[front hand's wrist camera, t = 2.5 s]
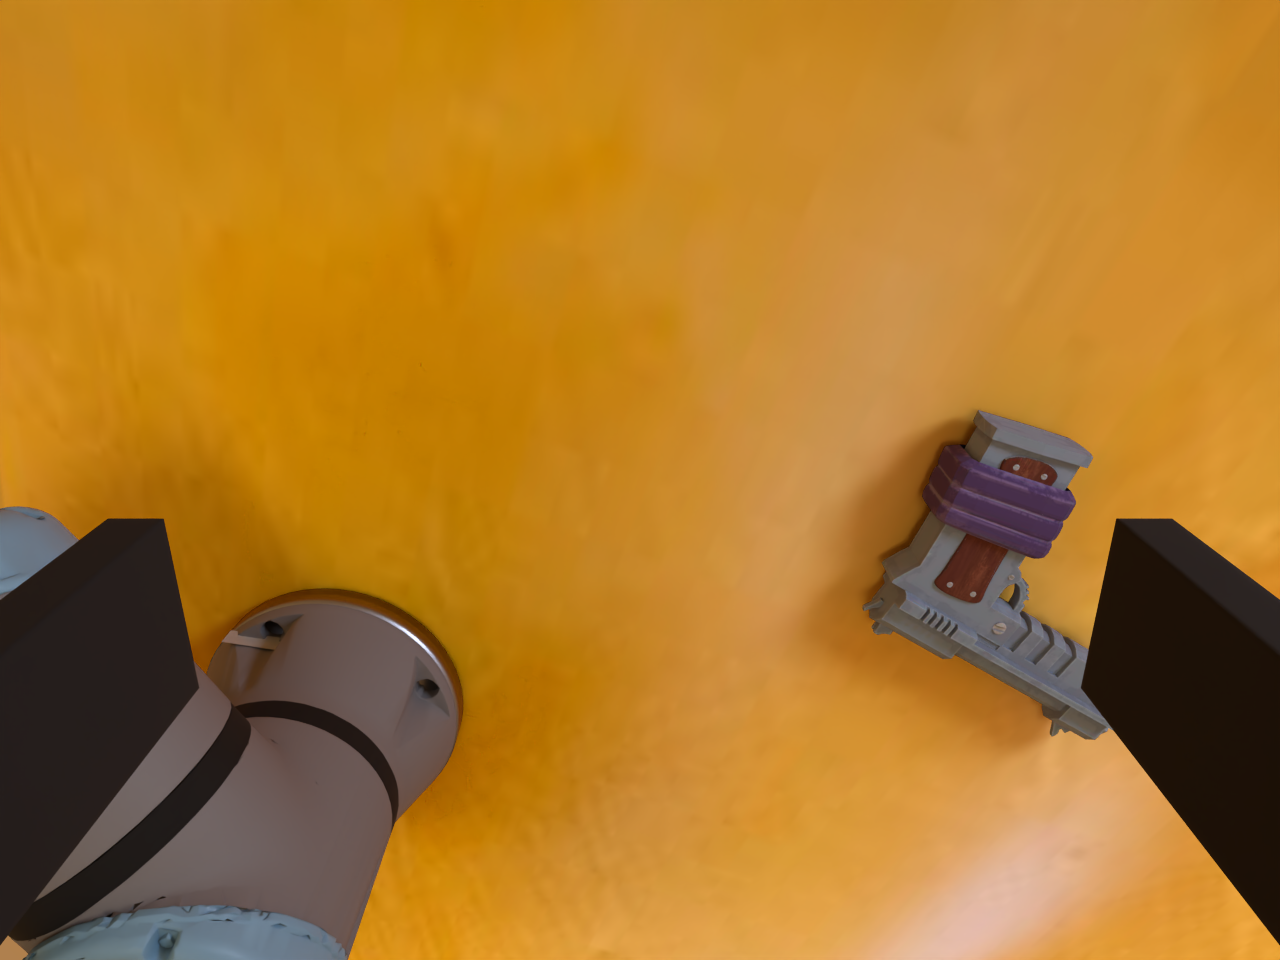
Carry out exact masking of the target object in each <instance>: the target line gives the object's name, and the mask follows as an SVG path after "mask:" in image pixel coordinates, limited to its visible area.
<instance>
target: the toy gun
mask: <svg viewBox="0 0 1280 960" xmlns="http://www.w3.org/2000/svg"><path fill="white" fill-rule="evenodd" d="M973 421H974V423H975V425H976V426H977V427H976V429H975V431H974V433H973V434H972V436H971V438H970V440H969V441H968V443H967V445H949V446H946V447H944V449H943V451H942V453H941V455H940V458H939V460H938V464H939V465H938V466H936V467H935V468H934V470H933V472H932V474H931V477H930V479H929V482H930V483H929V484H928V485H927V486H926V487H925V489H924V491H923V495H922V497H923V499H924V501H925V502H926V504H927V505H928V507H929V508H930V510H931V511H930V513H929V515H928V516H927V518H926V520H925V521H924V523H923V525H922V526H921V528H920V530H919V531H918V533H917V534H916V536H915V538H914V539H913V541H912V543H911V544H910V546H909V547H907V548H905V549H903V550H901V551H899V552H898V553H896V554H894V555H892V556H890V557H889V558H887V559H885V560H884V561H883V562H882V564H883V566H884V568H885V570H886V573H885V574H884V575H883V578H884V582H885V583H884V584H883V586H882V587H881V588H880V589H879V591H878V592H877V593H876V594H875V596H874V597H873V598H872V601H871V602H869V603H866V604H864V605H863V610H864V611H865V610H868V609H869V612H870V618H871V619H873V620H875V621H876V622H875V623H874V624H873V625H872V629H874V630H873V632H874V633H876V634H877V635H879V634H891V633H892V632H893V631H894V632H896V633H898V634H900V635H901V636H903V637H905V638H907V639H909V640H910V641H912V642H914V643H916V644H917V645H919V646H921V647H923V648H924V649H926V650H928V651H930V652H932V653H933V654H935V655H937V656H939V657H940V658H942V659H951V658H952V657H953V656H954V655H956V656H958V657H960V658H962V659H964V660H965V661H967V662H969V663H971V664H972V665H974V666H976V667H978V668H979V669H981V670H983V671H985V672H986V673H988V674H990V675H992V676H994V677H995V678H997V679H999V680H1001V681H1002V682H1004V683H1006V684H1008V685H1009V686H1011V687H1013V688H1015V689H1017V690H1018V691H1020V692H1022V693H1024V694H1025V695H1027V696H1029V697H1031V698H1032V699H1034V700H1036V701H1038V702H1039V703H1041V704H1042V711H1043V716H1045V717H1047V718H1049V719H1050V720H1052V724H1051V729H1050V735H1051V736H1054V735H1056V734H1057V733H1058V732H1059V729H1062V730H1063V731H1064V733H1065V732H1068V731H1072V732H1074V733H1075V734H1077V735H1079V736H1081V737H1082V738H1084V739H1092V740H1095V739H1096V738H1097V737H1098V736H1099V735H1100V734H1102V733H1104V732H1107V730H1108V728H1110V729H1112V728H1111V726H1110V725H1109V724H1108V723H1107V721H1106V720H1105V719H1104V717H1103V716H1102V715H1101V713H1100V712H1099V711H1098V710H1097V708H1096V707H1095V706H1094V704H1093V703H1092V702H1091V701H1090V699H1089V698H1088V697H1087V695H1086V694H1085V693H1084V692H1083V690H1082V689H1081V684H1082V679H1083V674H1084V670H1085V665H1086V660H1087V656H1088V651H1089V650H1088V649H1086V648H1085V647H1083V646H1081V645H1080V644H1078V643H1076V642H1075V641H1073V640H1071V639H1070V638H1068V637H1064V636H1062V635H1061V634H1060V633H1059V632H1057V631H1056V630H1054V629H1053V628H1051V627H1049V626H1047V625H1045V624H1041V623H1040V622H1039V621H1038V620H1037V619H1035V618H1034V617H1032V616H1031V615H1029V614H1027V613H1025V612H1023V611H1021V610H1022V609H1023V607H1024V604H1023V602H1024V601H1025V600H1029V597H1028V596H1027V595H1026V594H1029V591H1028V590H1027V589H1026V588H1029V586H1028V584H1027V583H1026V582H1025V581H1024V579H1023V578H1021V572H1020V570H1019V568H1018V567H1019V566H1020V564H1021V563H1022V561H1023V560H1024V558H1025V557H1026V556H1027V557H1031V558H1034V559H1035V558H1044V557H1045V556H1046V555H1047V554H1048V552H1049V550H1050V548H1051V545H1052V544H1051V542H1052V541H1053V540H1055V539H1056V538H1057V536H1058V534H1059V533H1060V531H1061V529H1062V527H1063V521H1064V520H1066V519H1067V518H1068V516H1069V515H1070V513H1071V512H1072V510H1073V508H1074V506H1075V504H1076V501H1075V498H1074V496H1073V494H1072V493H1071V491H1070V490H1069V489H1068V488H1067V486H1068V485H1069V483H1070V481H1071V480H1072V478H1073V477H1074V475H1075V473H1076V472H1077V470H1078V469H1079V467H1080V466H1082V467H1085V468H1088V466H1089V464H1090V462H1091V461H1092V459H1093V457H1092V455H1091V454H1090V453H1089V452H1088V451H1087V450H1086V449H1085V448H1083V447H1082V446H1081V445H1079V444H1078V443H1076V442H1074V441H1073V440H1071V439H1069V438H1067V437H1064V436H1060V435H1057V434H1054V433H1051V432H1048V431H1045V430H1042V429H1039V428H1036V427H1032V426H1029V425H1026V424H1023V423H1020V422H1016V421H1013V420H1009V419H1006V418H1003V417H999V416H996V415H992V414H989V413H986V412H982V411H979V410H978V412H977V414H976V416H975V418H974V420H973ZM1012 584H1015V588H1014V593H1013V595H1012V597H1011V599H1010V600H1009V602H1007V601H1005V600H1003V599H1002V598H1000V597H999V595H1000V594H1001V593H1002V591H1003V590H1004V589H1005V588H1006V587H1008V586H1009V585H1012ZM1112 730H1113V729H1112ZM1113 731H1114V730H1113Z"/></svg>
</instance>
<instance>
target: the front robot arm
mask: <svg viewBox="0 0 1280 960" xmlns="http://www.w3.org/2000/svg"><path fill="white" fill-rule="evenodd" d="M1081 689H1082V690H1083V692H1084V693H1085V694H1086V695H1087V697H1088V698H1089V699H1090V701H1091V702H1092V703H1093V704H1094V706H1095V707H1096V708H1097V710H1098V711H1099V712H1100V713H1101V715H1102V716H1103V717H1104V719H1105V720H1106V721H1107V723H1108V724H1109V725H1110V726H1111V728H1112V729H1113V730H1114V732H1115V733H1116V734H1117V735H1118V737H1119V738H1120V739H1121V741H1122V742H1123V743H1124V745H1125V746H1126V747H1127V748H1128V750H1129V751H1130V752H1131V754H1132V755H1133V756H1134V757H1135V759H1136V760H1137V761H1138V763H1139V764H1140V765H1141V766H1142V768H1143V769H1144V770H1145V772H1146V773H1147V774H1148V776H1149V777H1150V778H1151V779H1152V781H1153V782H1154V783H1155V785H1156V786H1157V787H1158V788H1159V790H1160V791H1161V792H1162V794H1163V795H1164V796H1165V797H1166V799H1167V800H1168V801H1169V803H1170V804H1171V805H1172V807H1173V808H1174V809H1175V810H1176V812H1177V813H1178V814H1179V816H1180V817H1181V818H1182V819H1183V821H1184V822H1185V823H1186V825H1187V826H1188V827H1189V829H1190V830H1191V831H1192V832H1193V834H1194V835H1195V836H1196V838H1197V839H1198V840H1199V841H1200V843H1201V844H1202V845H1203V847H1204V848H1205V849H1206V850H1207V852H1208V853H1209V854H1210V856H1211V857H1212V858H1213V860H1214V861H1215V862H1216V863H1217V865H1218V866H1219V867H1220V869H1221V870H1222V871H1223V872H1224V874H1225V875H1226V876H1227V878H1228V879H1229V880H1230V882H1231V883H1232V884H1233V885H1234V887H1235V888H1236V889H1237V891H1238V892H1239V893H1240V894H1241V896H1242V897H1243V898H1244V900H1245V901H1246V902H1247V903H1248V905H1249V906H1250V907H1251V909H1252V910H1253V911H1254V913H1255V914H1256V915H1257V916H1258V918H1259V919H1260V920H1261V922H1262V923H1263V924H1264V925H1265V927H1266V928H1267V929H1268V931H1269V932H1270V933H1271V935H1272V936H1273V937H1274V938H1275V940H1276V941H1277V942H1278V944H1279V945H1280V600H1279V599H1278V598H1277V597H1275V596H1274V595H1273V594H1271V593H1270V592H1269V591H1267V590H1266V589H1265V588H1263V587H1262V586H1261V585H1259V584H1258V583H1257V582H1255V581H1254V580H1253V579H1251V578H1250V577H1249V576H1247V575H1246V574H1245V573H1243V572H1242V571H1241V570H1240V569H1238V568H1237V567H1236V566H1234V565H1233V564H1232V563H1230V562H1229V561H1228V560H1226V559H1225V558H1224V557H1222V556H1221V555H1220V554H1218V553H1217V552H1216V551H1214V550H1213V549H1212V548H1210V547H1209V546H1208V545H1206V544H1205V543H1204V542H1202V541H1201V540H1200V539H1198V538H1197V537H1196V536H1194V535H1193V534H1192V533H1190V532H1189V531H1188V530H1186V529H1185V528H1184V527H1182V526H1181V525H1180V524H1178V523H1177V522H1176V521H1174V520H1173V519H1116V523H1115V528H1114V532H1113V537H1112V542H1111V547H1110V551H1109V556H1108V561H1107V566H1106V570H1105V575H1104V580H1103V585H1102V589H1101V594H1100V599H1099V603H1098V608H1097V613H1096V618H1095V622H1094V627H1093V632H1092V637H1091V641H1090V646H1089V651H1088V656H1087V660H1086V665H1085V670H1084V674H1083V679H1082V684H1081ZM462 714H463V696H462V689H461V684H460V680H459V677H458V674H457V672H456V669H455V667H454V665H453V663H452V661H451V659H450V657H449V656H448V654H447V652H446V651H445V649H444V648H443V647H442V645H441V644H440V643H439V641H438V640H437V639H436V638H435V637H434V636H433V635H432V633H431V632H430V631H428V630H427V629H426V628H425V627H424V626H423V625H422V624H421V623H419V622H418V621H417V620H416V619H414V618H413V617H412V616H410V615H409V614H407V613H405V612H404V611H402V610H401V609H399V608H397V607H395V606H393V605H391V604H389V603H387V602H384V601H382V600H380V599H377V598H374V597H371V596H368V595H365V594H361V593H357V592H353V591H346V590H339V589H309V590H301V591H296V592H291V593H288V594H284V595H281V596H278V597H276V598H273V599H271V600H269V601H267V602H265V603H263V604H261V605H259V606H258V607H256V608H255V609H253V610H252V611H250V612H249V613H248V614H247V615H246V616H245V617H243V618H242V619H241V620H240V621H239V622H238V624H237V625H236V626H235V627H234V628H233V629H232V630H231V631H230V632H229V633H228V634H227V636H226V637H225V638H224V639H223V641H222V643H221V645H220V646H219V647H218V649H217V650H216V652H215V654H214V656H213V658H212V660H211V662H210V665H209V668H208V671H207V675H206V674H205V673H204V672H203V671H202V670H201V668H200V667H199V666H198V665H197V664H196V663H195V662H194V660H193V656H192V651H191V646H190V641H189V637H188V632H187V627H186V622H185V618H184V613H183V608H182V603H181V599H180V594H179V589H178V585H177V580H176V575H175V570H174V566H173V561H172V556H171V551H170V547H169V542H168V537H167V532H166V528H165V523H164V519H107V520H106V521H104V522H103V523H102V524H100V525H99V526H98V527H96V528H95V529H94V530H92V531H91V532H90V533H88V534H87V535H86V536H84V537H83V538H82V539H80V540H78V539H77V538H76V537H75V536H74V535H73V534H72V533H71V532H70V531H69V530H68V529H67V528H66V527H65V526H64V525H63V524H62V523H61V522H60V521H58V520H57V519H56V518H55V517H53V516H52V515H50V514H48V513H46V512H44V511H41V510H38V509H34V508H30V507H6V508H1V509H0V945H1V944H2V942H3V941H4V940H5V938H6V937H7V936H9V937H11V939H12V940H13V941H15V942H16V943H17V944H18V945H19V946H21V947H22V948H23V949H24V950H25V951H26V952H27V953H28V955H27V957H25V958H23V960H348V957H349V954H350V951H351V948H352V945H353V943H354V940H355V937H356V934H357V931H358V928H359V925H360V922H361V919H362V916H363V913H364V910H365V908H366V905H367V902H368V899H369V896H370V893H371V890H372V887H373V884H374V881H375V878H376V875H377V873H378V870H379V867H380V864H381V861H382V858H383V855H384V852H385V849H386V846H387V843H388V840H389V838H390V835H391V832H392V829H393V826H394V824H395V822H396V821H397V820H398V818H399V817H400V816H401V815H402V814H403V813H404V812H405V811H406V810H407V809H408V808H409V807H410V806H411V805H412V803H413V802H414V801H415V800H416V799H417V798H418V797H419V796H420V795H421V794H422V793H423V792H424V791H425V789H426V788H427V787H428V786H429V785H430V784H431V783H432V782H433V781H434V780H435V778H436V777H437V776H438V775H439V774H440V773H441V771H442V770H443V768H444V767H445V765H446V764H447V762H448V760H449V758H450V756H451V754H452V751H453V748H454V745H455V742H456V739H457V736H458V733H459V729H460V725H461V721H462Z"/></svg>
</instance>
